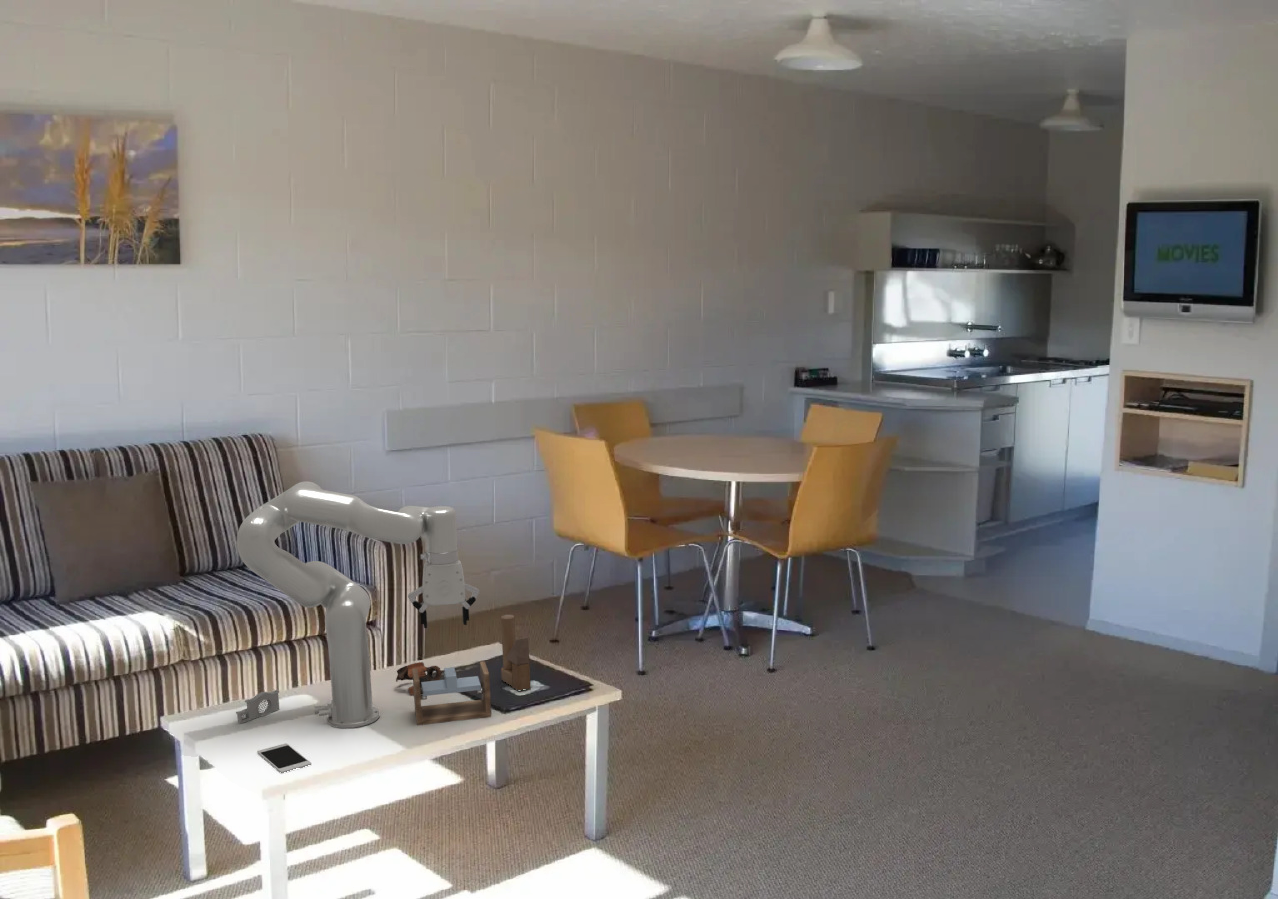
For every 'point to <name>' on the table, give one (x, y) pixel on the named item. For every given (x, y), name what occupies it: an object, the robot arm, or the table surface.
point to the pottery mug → (407, 674)
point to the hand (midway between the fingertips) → (445, 625)
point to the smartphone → (284, 758)
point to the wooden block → (514, 656)
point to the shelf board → (450, 684)
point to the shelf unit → (453, 709)
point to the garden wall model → (254, 703)
